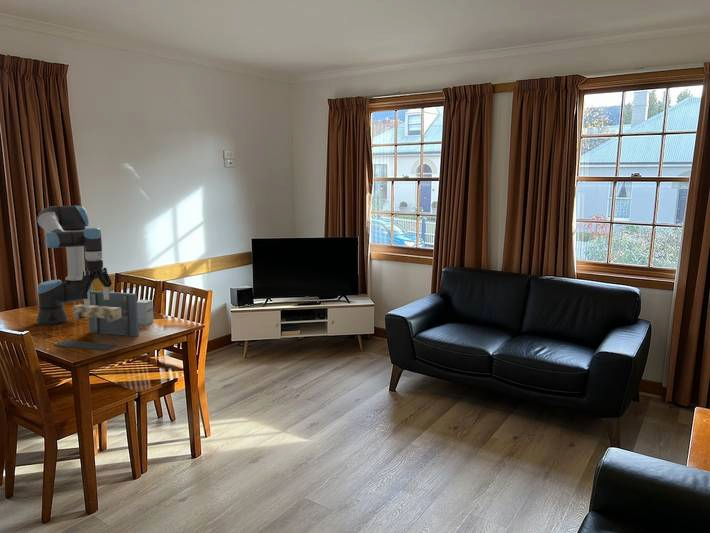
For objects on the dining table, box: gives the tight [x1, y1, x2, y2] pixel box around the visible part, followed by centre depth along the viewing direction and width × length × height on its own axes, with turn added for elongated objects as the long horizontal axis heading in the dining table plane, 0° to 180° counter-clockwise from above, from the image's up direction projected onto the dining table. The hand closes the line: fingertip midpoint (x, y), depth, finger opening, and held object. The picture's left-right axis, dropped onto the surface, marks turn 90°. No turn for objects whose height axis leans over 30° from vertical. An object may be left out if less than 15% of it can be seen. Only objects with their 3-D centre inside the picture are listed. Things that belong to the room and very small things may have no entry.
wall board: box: [88, 290, 140, 337], centre depth 270 cm, size 28×2×22 cm, turn 77°
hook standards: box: [74, 294, 131, 338], centre depth 263 cm, size 20×14×21 cm
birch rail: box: [73, 304, 122, 319], centre depth 259 cm, size 24×4×5 cm, turn 77°
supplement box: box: [137, 299, 155, 326], centre depth 292 cm, size 7×7×13 cm
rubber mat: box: [53, 339, 117, 352], centre depth 251 cm, size 28×8×1 cm, turn 77°
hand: (97, 302), depth 258 cm, fingers open, 13 cm apart
